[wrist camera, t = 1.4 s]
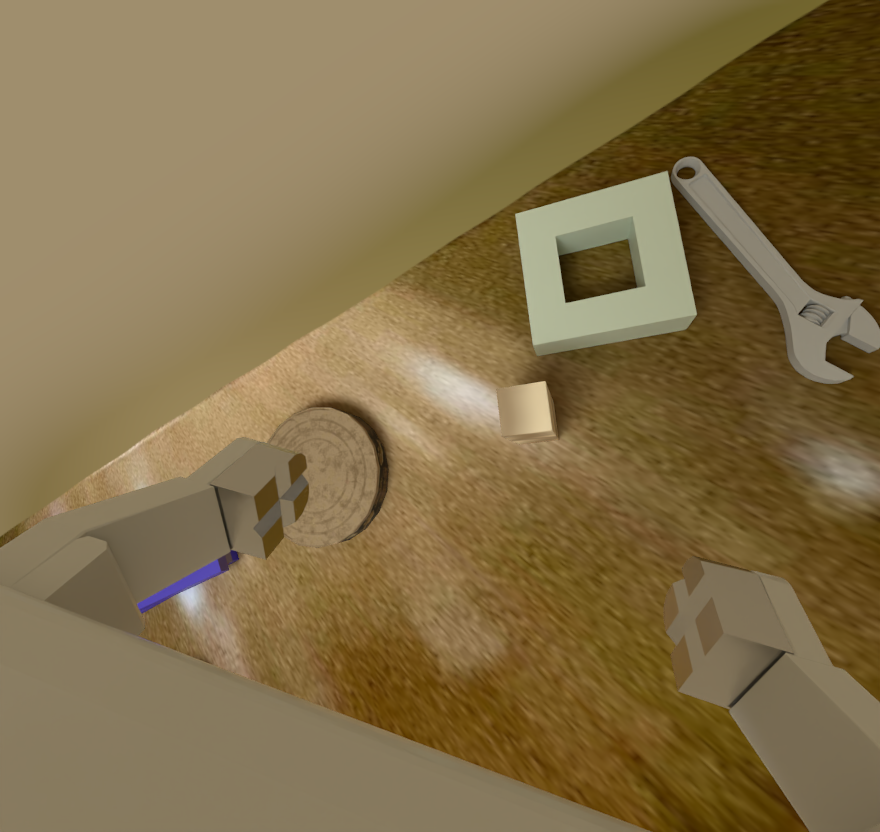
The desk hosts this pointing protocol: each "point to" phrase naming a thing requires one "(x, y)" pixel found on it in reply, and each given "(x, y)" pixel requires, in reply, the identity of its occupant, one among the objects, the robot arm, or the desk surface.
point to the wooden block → (527, 413)
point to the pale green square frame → (594, 224)
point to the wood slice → (335, 474)
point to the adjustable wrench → (781, 281)
